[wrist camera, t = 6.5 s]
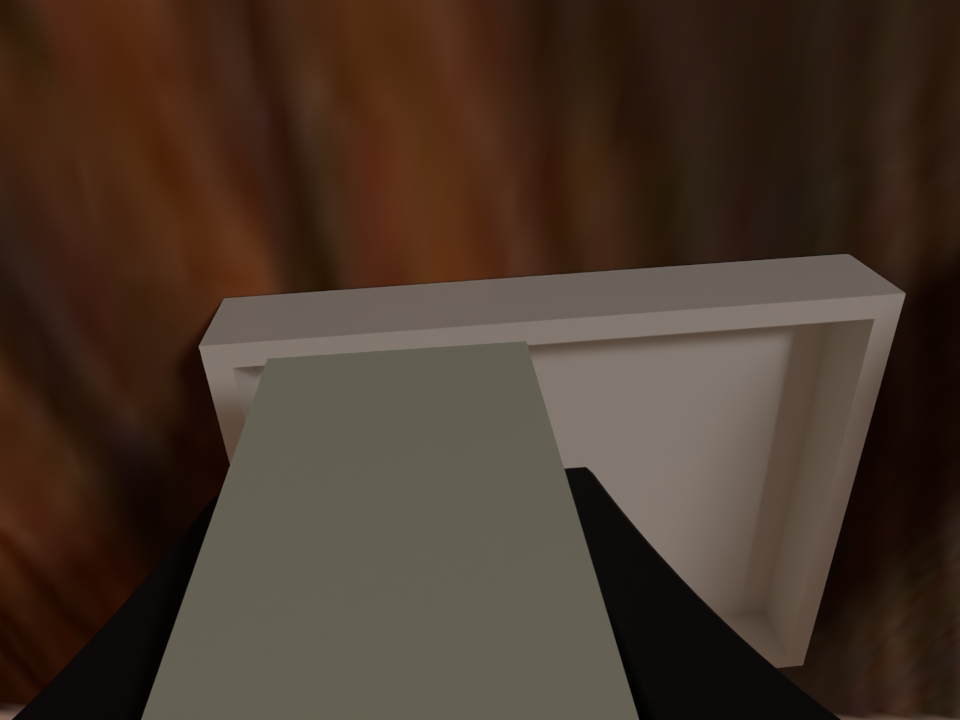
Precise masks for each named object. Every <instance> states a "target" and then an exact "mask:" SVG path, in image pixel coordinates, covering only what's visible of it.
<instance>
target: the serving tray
mask: <svg viewBox="0 0 960 720" xmlns="http://www.w3.org/2000/svg"><path fill="white" fill-rule="evenodd" d="M905 294H906V293H905V292H903V291H902V290H900V289H899V288H897V287H896V286H894V285H893V284H891V283H890V282H888V281H887V280H886V279H884V278H883V277H881V276H880V275H878V274H877V273H875V272H874V271H872V270H871V269H870V268H868V267H867V266H865V265H864V264H862V263H861V262H859V261H858V260H856V259H855V258H854V257H852V256H851V255H849V254H840V255H826V256H812V257H798V258H784V259H770V260H756V261H742V262H728V263H714V264H700V265H686V266H672V267H658V268H644V269H630V270H616V271H602V272H588V273H574V274H560V275H546V276H531V277H517V278H503V279H489V280H475V281H461V282H447V283H433V284H419V285H405V286H391V287H377V288H363V289H349V290H335V291H321V292H307V293H293V294H279V295H265V296H251V297H237V298H224V299H223V301H222V303H221V305H220V307H219V309H218V311H217V313H216V314H215V316H214V318H213V320H212V322H211V324H210V326H209V328H208V330H207V331H206V333H205V335H204V337H203V339H202V341H201V343H200V345H199V350H200V353H201V357H202V361H203V365H204V368H205V372H206V376H207V380H208V383H209V387H210V391H211V395H212V399H213V402H214V406H215V410H216V414H217V417H218V421H219V425H220V429H221V432H222V436H223V440H224V444H225V448H226V451H227V455H228V459H229V463H230V464H231V461H232V459H233V456H234V453H235V450H236V447H237V444H238V441H239V439H240V436H241V433H242V430H243V427H244V424H245V421H246V419H247V416H248V413H249V410H250V407H251V404H252V401H253V399H254V396H255V393H256V390H257V387H258V384H259V381H260V379H261V376H262V373H263V370H264V367H265V364H266V361H267V359H270V358H285V357H299V356H314V355H329V354H344V353H358V352H373V351H388V350H403V349H418V348H432V347H447V346H462V345H477V344H491V343H506V342H521V341H526V342H527V346H528V349H529V352H530V356H531V359H532V362H533V366H534V369H535V372H536V376H537V379H538V382H539V386H540V389H541V393H542V396H543V399H544V403H545V406H546V409H547V413H548V416H549V419H550V423H551V426H552V429H553V433H554V436H555V440H556V443H557V446H558V450H559V453H560V456H561V460H562V463H563V466H564V469H565V468H578V467H587V468H588V469H589V470H590V471H591V472H593V473H594V475H595V476H596V478H597V479H598V480H599V482H600V483H601V484H602V486H603V487H604V488H605V490H606V491H607V492H608V493H609V495H610V496H611V497H612V499H613V500H614V501H615V502H616V504H617V505H618V506H619V507H620V509H621V510H622V511H623V512H624V514H625V515H626V516H627V517H628V518H629V520H630V521H631V522H632V523H633V524H634V526H635V527H636V528H637V529H638V530H639V532H640V533H641V534H642V535H643V536H644V537H645V539H646V540H647V541H648V542H649V543H650V544H651V545H652V547H653V548H654V549H655V550H656V551H657V552H658V553H659V554H660V555H661V556H662V558H663V559H664V560H665V561H666V562H667V563H668V564H669V565H670V566H671V567H672V569H673V570H674V571H675V572H676V573H677V574H678V575H679V576H680V577H681V578H682V579H683V580H684V581H685V582H686V583H687V585H688V586H689V587H690V588H691V589H692V590H693V591H694V592H695V593H696V594H697V595H698V596H699V597H700V598H701V599H702V600H703V601H704V602H705V603H706V604H707V605H708V606H709V607H710V608H711V609H712V610H713V611H714V612H715V613H716V614H717V615H718V616H719V617H720V618H721V619H722V620H723V621H725V622H726V623H727V624H728V625H729V626H730V627H731V628H732V629H733V630H734V631H735V632H736V633H737V634H738V635H739V636H741V637H742V638H743V639H744V640H745V641H746V642H747V643H748V644H749V645H750V646H752V647H753V648H754V649H755V650H756V651H757V652H758V653H759V654H761V655H762V656H763V657H764V658H765V659H766V660H768V661H769V662H770V663H771V664H772V665H773V666H775V667H776V668H781V667H790V666H800V665H803V663H804V659H805V656H806V652H807V649H808V645H809V641H810V638H811V634H812V631H813V627H814V623H815V620H816V616H817V612H818V609H819V605H820V602H821V598H822V594H823V591H824V587H825V584H826V580H827V576H828V573H829V569H830V565H831V562H832V558H833V555H834V551H835V547H836V544H837V540H838V537H839V533H840V529H841V526H842V522H843V518H844V515H845V511H846V508H847V504H848V500H849V497H850V493H851V490H852V486H853V482H854V479H855V475H856V471H857V468H858V464H859V461H860V457H861V453H862V450H863V446H864V443H865V439H866V435H867V432H868V428H869V424H870V421H871V417H872V414H873V410H874V406H875V403H876V399H877V396H878V392H879V388H880V385H881V381H882V377H883V374H884V370H885V367H886V363H887V359H888V356H889V352H890V349H891V345H892V341H893V338H894V334H895V331H896V327H897V323H898V320H899V316H900V312H901V309H902V305H903V302H904V298H905Z"/></svg>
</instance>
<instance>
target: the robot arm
mask: <svg viewBox="0 0 960 720" xmlns="http://www.w3.org/2000/svg"><path fill="white" fill-rule="evenodd" d="M564 470H565V473H566V476H567V480H568V483H569V487H570V490H571V493H572V497H573V500H574V503H575V507H576V510H577V513H578V517H579V520H580V523H581V527H582V530H583V533H584V537H585V540H586V544H587V547H588V550H589V554H590V557H591V560H592V564H593V567H594V570H595V574H596V577H597V580H598V584H599V587H600V591H601V594H602V597H603V601H604V604H605V607H606V611H607V614H608V617H609V621H610V624H611V627H612V631H613V634H614V637H615V641H616V644H617V648H618V651H619V654H620V658H621V661H622V664H623V668H624V671H625V674H626V678H627V681H628V684H629V688H630V691H631V695H632V698H633V701H634V705H635V708H636V711H637V715H638V718H639V720H841V719H839V718H838V717H836V716H835V715H834V714H832V713H831V712H830V711H828V710H827V709H826V708H824V707H823V706H822V705H821V704H820V703H818V702H817V701H816V700H815V699H813V698H812V697H811V696H810V695H808V694H807V693H806V692H805V691H803V690H802V689H801V688H800V687H798V686H797V685H796V684H795V683H793V682H792V681H791V680H790V679H789V678H787V677H786V676H785V675H784V674H783V673H782V672H780V671H779V670H778V669H777V668H776V667H775V666H773V665H772V664H771V663H770V662H769V661H768V660H766V659H765V658H764V657H763V656H762V655H761V654H759V653H758V652H757V651H756V650H755V649H754V648H753V647H752V646H750V645H749V644H748V643H747V642H746V641H745V640H744V639H743V638H742V637H741V636H739V635H738V634H737V633H736V632H735V631H734V630H733V629H732V628H731V627H730V626H729V625H728V624H727V623H726V622H725V621H723V620H722V619H721V618H720V617H719V616H718V615H717V614H716V613H715V612H714V611H713V610H712V609H711V608H710V607H709V606H708V605H707V604H706V603H705V602H704V601H703V600H702V599H701V598H700V597H699V596H698V595H697V594H696V593H695V592H694V591H693V590H692V589H691V588H690V587H689V586H688V585H687V583H686V582H685V581H684V580H683V579H682V578H681V577H680V576H679V575H678V574H677V573H676V572H675V571H674V570H673V569H672V567H671V566H670V565H669V564H668V563H667V562H666V561H665V560H664V559H663V558H662V556H661V555H660V554H659V553H658V552H657V551H656V550H655V549H654V548H653V547H652V545H651V544H650V543H649V542H648V541H647V540H646V539H645V537H644V536H643V535H642V534H641V533H640V532H639V530H638V529H637V528H636V527H635V526H634V524H633V523H632V522H631V521H630V520H629V518H628V517H627V516H626V515H625V514H624V512H623V511H622V510H621V509H620V507H619V506H618V505H617V504H616V502H615V501H614V500H613V499H612V497H611V496H610V495H609V493H608V492H607V491H606V490H605V488H604V487H603V486H602V484H601V483H600V482H599V480H598V479H597V478H596V476H595V475H594V473H593V472H591V471H590V470H589V469H588V468H587V467H578V468H565V469H564ZM218 499H219V496H215V497H214V498H213V499H212V500H211V501H210V502H209V503H208V505H207V506H206V507H205V508H204V509H203V510H202V512H201V513H200V514H199V515H198V516H197V518H196V519H195V520H194V521H193V522H192V524H191V525H190V526H189V527H188V529H187V530H186V531H185V532H184V533H183V535H182V536H181V537H180V538H179V539H178V541H177V542H176V543H175V544H174V546H173V547H172V548H171V549H170V550H169V552H168V553H167V554H166V555H165V556H164V558H163V559H162V560H161V561H160V562H159V564H158V565H157V566H156V567H155V568H154V570H153V571H152V572H151V573H150V574H149V575H148V577H147V578H146V579H145V580H144V581H143V582H142V583H141V585H140V586H139V587H138V588H137V589H136V590H135V591H134V593H133V594H132V595H131V596H130V597H129V598H128V600H127V601H126V602H125V603H124V604H123V605H122V606H121V608H120V609H119V610H118V611H117V612H116V613H115V614H114V616H113V617H112V618H111V619H110V620H109V621H108V622H107V623H106V624H105V626H104V627H103V628H102V629H101V630H100V631H99V632H98V633H97V634H96V635H95V636H94V637H93V638H92V639H91V640H90V641H89V642H88V643H87V645H86V646H85V647H84V648H83V649H82V650H81V651H80V652H79V653H78V654H77V655H76V656H75V657H74V658H73V659H72V660H71V661H70V662H69V664H68V665H67V666H66V667H65V668H64V669H63V670H62V671H61V672H60V673H59V674H58V675H57V676H56V677H55V678H54V679H53V680H52V681H51V682H50V683H49V684H48V685H47V686H46V687H45V688H44V689H43V690H42V691H41V692H40V693H39V694H38V695H37V696H36V697H35V698H34V699H33V700H32V701H31V702H30V703H29V704H28V705H27V706H26V707H25V708H24V709H23V710H22V711H21V712H20V713H19V714H17V715H16V716H15V717H14V718H13V719H12V720H141V719H142V716H143V713H144V710H145V707H146V704H147V702H148V699H149V696H150V693H151V690H152V687H153V684H154V682H155V679H156V676H157V673H158V670H159V667H160V664H161V662H162V659H163V656H164V653H165V650H166V647H167V644H168V642H169V639H170V636H171V633H172V630H173V627H174V624H175V622H176V619H177V616H178V613H179V610H180V607H181V604H182V602H183V599H184V596H185V593H186V590H187V587H188V584H189V582H190V579H191V576H192V573H193V570H194V567H195V564H196V562H197V559H198V556H199V553H200V550H201V547H202V544H203V541H204V539H205V536H206V533H207V530H208V527H209V524H210V521H211V519H212V516H213V513H214V510H215V507H216V504H217V501H218Z"/></svg>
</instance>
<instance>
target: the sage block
mask: <svg viewBox="0 0 960 720" xmlns="http://www.w3.org/2000/svg"><path fill="white" fill-rule="evenodd" d="M141 720H639V718H638V715H637V711H636V708H635V705H634V701H633V698H632V695H631V691H630V688H629V684H628V681H627V678H626V674H625V671H624V668H623V664H622V661H621V658H620V654H619V651H618V648H617V644H616V641H615V637H614V634H613V631H612V627H611V624H610V621H609V617H608V614H607V611H606V607H605V604H604V601H603V597H602V594H601V591H600V587H599V584H598V580H597V577H596V574H595V570H594V567H593V564H592V560H591V557H590V554H589V550H588V547H587V544H586V540H585V537H584V533H583V530H582V527H581V523H580V520H579V517H578V513H577V510H576V507H575V503H574V500H573V497H572V493H571V490H570V487H569V483H568V480H567V476H566V473H565V470H564V466H563V463H562V460H561V456H560V453H559V450H558V446H557V443H556V440H555V436H554V433H553V429H552V426H551V423H550V419H549V416H548V413H547V409H546V406H545V403H544V399H543V396H542V393H541V389H540V386H539V382H538V379H537V376H536V372H535V369H534V366H533V362H532V359H531V356H530V352H529V349H528V346H527V342H526V341H521V342H506V343H491V344H477V345H462V346H447V347H432V348H418V349H403V350H388V351H373V352H358V353H344V354H329V355H314V356H299V357H285V358H270V359H267V361H266V364H265V367H264V370H263V373H262V376H261V379H260V381H259V384H258V387H257V390H256V393H255V396H254V399H253V401H252V404H251V407H250V410H249V413H248V416H247V419H246V421H245V424H244V427H243V430H242V433H241V436H240V439H239V441H238V444H237V447H236V450H235V453H234V456H233V459H232V461H231V464H230V467H229V470H228V473H227V476H226V479H225V481H224V484H223V487H222V490H221V493H220V496H219V499H218V501H217V504H216V507H215V510H214V513H213V516H212V519H211V521H210V524H209V527H208V530H207V533H206V536H205V539H204V541H203V544H202V547H201V550H200V553H199V556H198V559H197V562H196V564H195V567H194V570H193V573H192V576H191V579H190V582H189V584H188V587H187V590H186V593H185V596H184V599H183V602H182V604H181V607H180V610H179V613H178V616H177V619H176V622H175V624H174V627H173V630H172V633H171V636H170V639H169V642H168V644H167V647H166V650H165V653H164V656H163V659H162V662H161V664H160V667H159V670H158V673H157V676H156V679H155V682H154V684H153V687H152V690H151V693H150V696H149V699H148V702H147V704H146V707H145V710H144V713H143V716H142V719H141Z"/></svg>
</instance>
